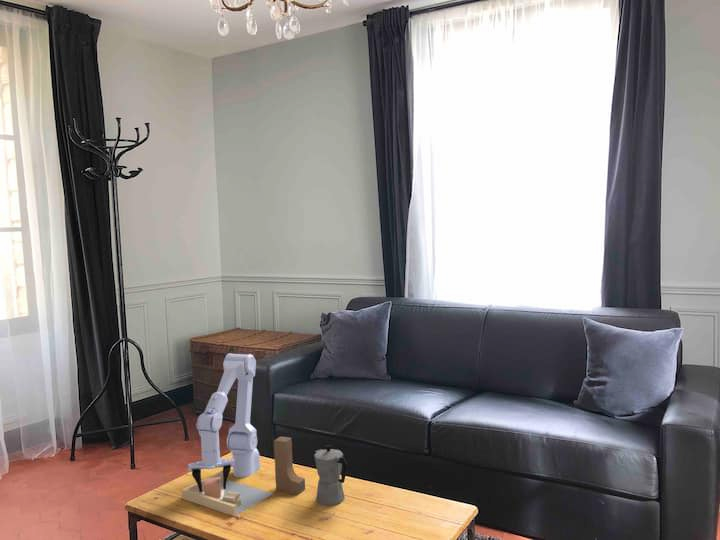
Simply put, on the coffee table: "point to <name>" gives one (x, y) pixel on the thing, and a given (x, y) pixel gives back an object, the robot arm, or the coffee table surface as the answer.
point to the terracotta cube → (212, 487)
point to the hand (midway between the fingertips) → (212, 489)
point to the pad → (221, 495)
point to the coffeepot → (330, 476)
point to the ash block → (233, 498)
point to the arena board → (247, 494)
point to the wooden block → (286, 468)
